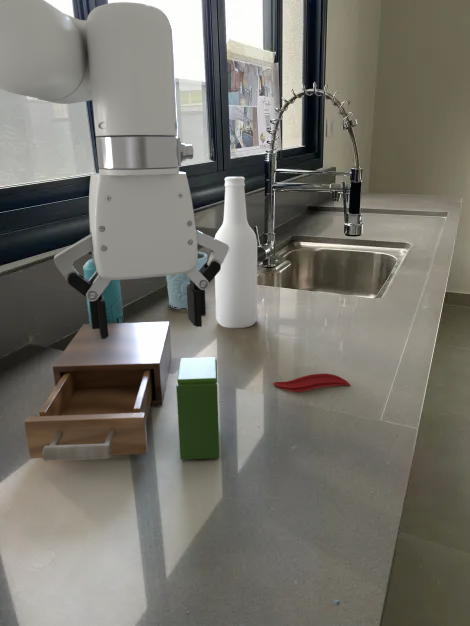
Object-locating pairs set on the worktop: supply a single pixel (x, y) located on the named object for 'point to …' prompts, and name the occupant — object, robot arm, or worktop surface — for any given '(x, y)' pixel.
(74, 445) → the drawer
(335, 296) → the worktop surface
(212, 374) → the tall green carton
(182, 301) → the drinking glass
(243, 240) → the alcohol
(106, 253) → the robot arm
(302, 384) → the cayenne pepper
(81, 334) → the cabinet
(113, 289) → the beverage bottle
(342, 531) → the worktop surface
